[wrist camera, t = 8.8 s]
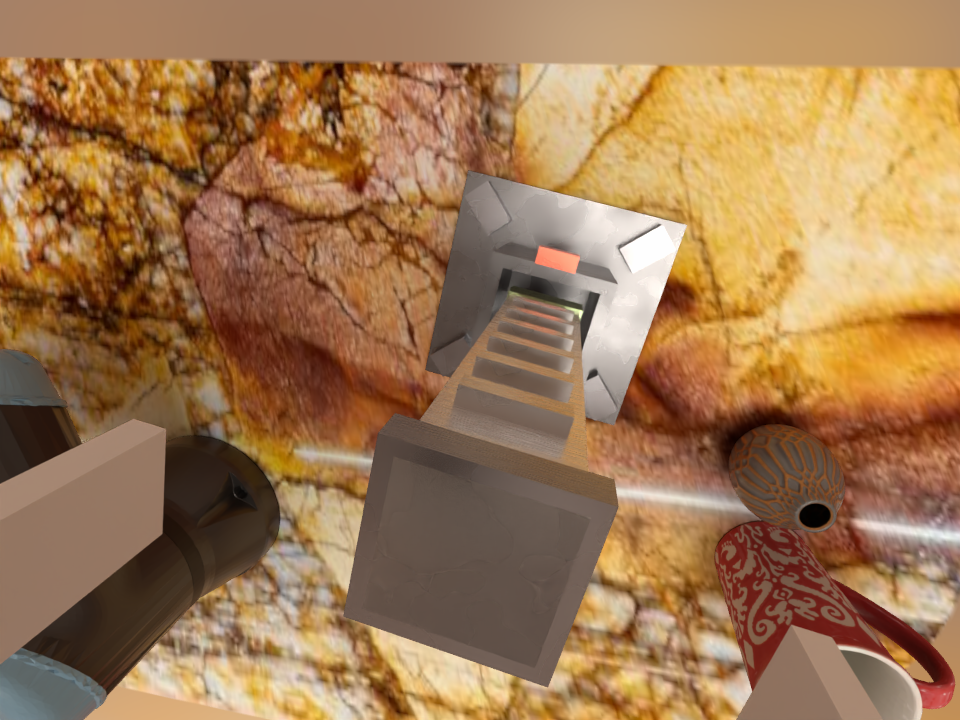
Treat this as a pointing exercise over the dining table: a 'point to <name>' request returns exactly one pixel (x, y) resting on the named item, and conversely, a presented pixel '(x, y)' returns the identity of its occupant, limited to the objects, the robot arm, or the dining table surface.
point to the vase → (787, 478)
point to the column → (489, 501)
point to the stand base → (556, 276)
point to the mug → (821, 619)
